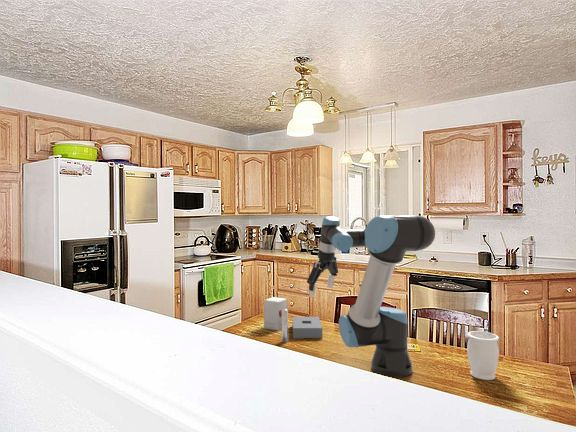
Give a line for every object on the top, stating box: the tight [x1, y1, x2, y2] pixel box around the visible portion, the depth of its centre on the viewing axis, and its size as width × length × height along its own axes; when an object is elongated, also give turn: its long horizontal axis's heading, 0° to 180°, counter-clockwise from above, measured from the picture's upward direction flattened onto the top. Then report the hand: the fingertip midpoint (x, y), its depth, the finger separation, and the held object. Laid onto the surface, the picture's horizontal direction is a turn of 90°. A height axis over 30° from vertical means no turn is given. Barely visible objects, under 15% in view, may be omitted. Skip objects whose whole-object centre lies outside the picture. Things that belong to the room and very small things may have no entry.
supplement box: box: [263, 296, 288, 331], centre depth 198 cm, size 9×9×15 cm
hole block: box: [291, 316, 323, 340], centre depth 190 cm, size 20×14×5 cm
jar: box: [466, 330, 500, 381], centre depth 138 cm, size 11×10×15 cm
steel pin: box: [281, 308, 289, 343], centre depth 176 cm, size 3×3×15 cm
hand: (320, 291), depth 175 cm, fingers open, 13 cm apart
